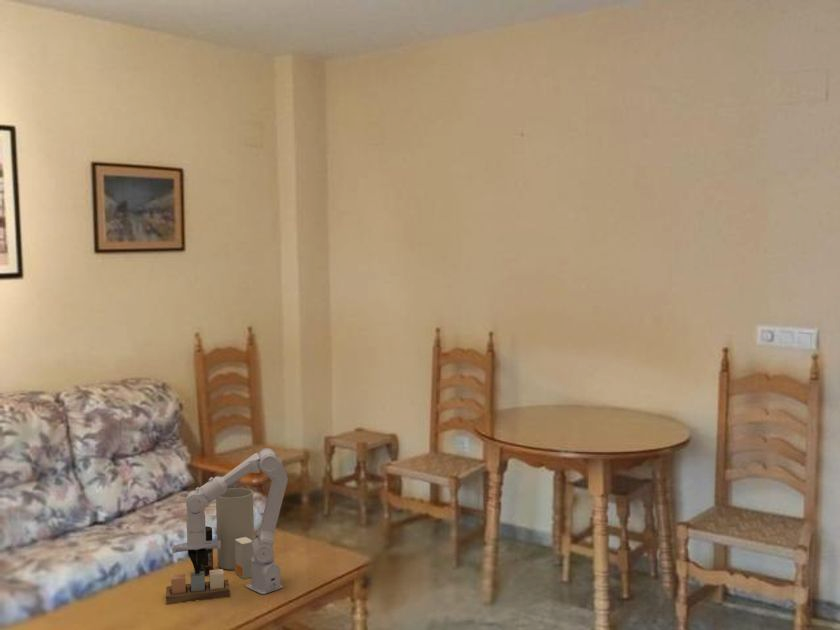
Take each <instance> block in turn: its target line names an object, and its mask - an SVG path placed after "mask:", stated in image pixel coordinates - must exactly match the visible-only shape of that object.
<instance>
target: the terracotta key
mask: <svg viewBox="0 0 840 630" xmlns="http://www.w3.org/2000/svg"><path fill="white" fill-rule="evenodd" d="M170 575H171V577H170V584H171V585H170V586H171V588H172V594H177V593H185V592H186V584H187V581H186V573H177V574H176V573H175V574H170Z"/></svg>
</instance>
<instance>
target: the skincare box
mask: <svg viewBox="0 0 840 630" xmlns="http://www.w3.org/2000/svg"><path fill="white" fill-rule="evenodd" d="M251 542H252V540H250V539H249V538H247V537H243V538H238V539H235V570H234V571H235V575H237V576H239V577H240V578H241V579H243V580H245V579H248V577H249V578H251V558H252V557H253V551H252V549H251ZM244 578H245V579H244Z"/></svg>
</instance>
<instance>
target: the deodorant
mask: <svg viewBox="0 0 840 630" xmlns="http://www.w3.org/2000/svg"><path fill="white" fill-rule="evenodd" d="M206 541H213V528H212V526H208V525H206ZM213 549H214V548H212V549H206V554H205V556H204V558H203V561H202V564H201V567H200V571H204V574H205V577H208V576H210V575H209V570H214V552H213V551H214V550H213ZM196 562H197V563H198V556H197V550H196Z"/></svg>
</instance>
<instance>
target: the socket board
mask: <svg viewBox="0 0 840 630" xmlns="http://www.w3.org/2000/svg"><path fill="white" fill-rule="evenodd" d="M165 589H166V590H165V601H166V602H165V605H174V604H173V603H175V604H179V603H178V602H183V603H188V602H187V601H191V602H197V601H196V600H199V601H207V600H213V599H215V598H216V599H221V598H222V599H223V598H230V597H231V588H230V583H229V579H224V588H219V589H211V590H210V581H205V590H202V591H194V592H191V583H186V592H185V593H177V594H172V588H171V585H169V586H166V588H165Z"/></svg>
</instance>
